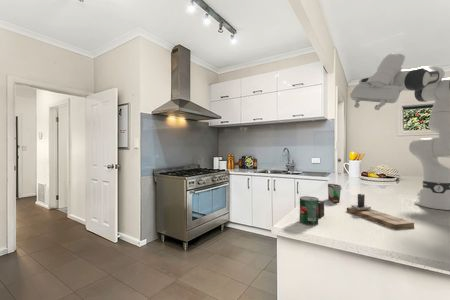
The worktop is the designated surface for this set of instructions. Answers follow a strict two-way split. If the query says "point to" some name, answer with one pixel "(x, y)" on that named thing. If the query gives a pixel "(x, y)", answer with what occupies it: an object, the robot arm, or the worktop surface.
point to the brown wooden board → (382, 218)
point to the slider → (361, 203)
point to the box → (320, 209)
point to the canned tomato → (309, 210)
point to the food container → (334, 193)
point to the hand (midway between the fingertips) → (365, 108)
